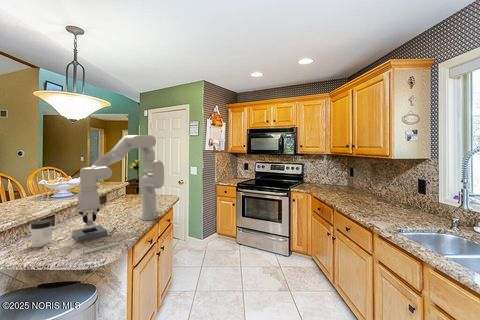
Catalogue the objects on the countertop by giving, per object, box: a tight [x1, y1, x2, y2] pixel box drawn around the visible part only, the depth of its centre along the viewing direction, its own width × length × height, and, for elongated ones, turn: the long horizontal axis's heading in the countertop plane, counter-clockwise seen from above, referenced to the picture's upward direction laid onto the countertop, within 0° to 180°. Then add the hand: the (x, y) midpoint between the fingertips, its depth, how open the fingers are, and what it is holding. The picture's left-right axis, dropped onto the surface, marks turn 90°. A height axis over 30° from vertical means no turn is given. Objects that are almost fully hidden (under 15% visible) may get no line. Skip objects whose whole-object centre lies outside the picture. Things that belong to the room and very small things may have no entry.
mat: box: [82, 242, 118, 255], centre depth 118 cm, size 14×12×1 cm
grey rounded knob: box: [83, 210, 97, 230], centre depth 130 cm, size 6×6×9 cm
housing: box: [71, 224, 108, 244], centre depth 130 cm, size 14×14×4 cm
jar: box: [30, 219, 53, 248], centre depth 121 cm, size 9×8×12 cm
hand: (89, 221), depth 130 cm, fingers closed on grey rounded knob, 3 cm apart
